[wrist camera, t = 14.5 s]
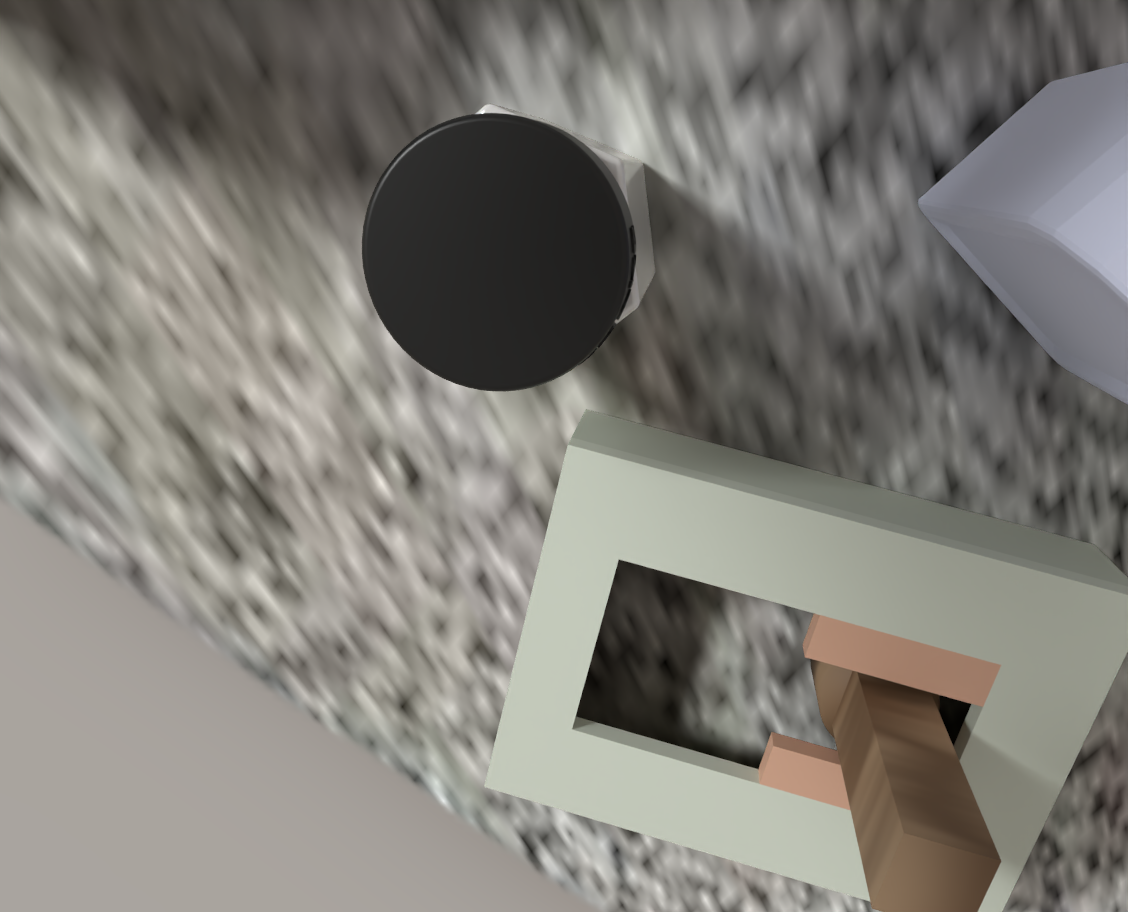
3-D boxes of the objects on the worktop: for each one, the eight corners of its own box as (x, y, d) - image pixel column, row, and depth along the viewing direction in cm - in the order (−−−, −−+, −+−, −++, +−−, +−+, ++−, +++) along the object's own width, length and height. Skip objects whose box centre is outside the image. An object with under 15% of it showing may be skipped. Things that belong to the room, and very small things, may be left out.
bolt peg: (796, 692, 44) (835, 921, 30) (829, 601, 42) (884, 800, 29) (900, 721, 43) (984, 966, 30) (936, 630, 42) (1042, 846, 28)
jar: (533, 373, 41) (465, 453, 30) (414, 220, 40) (295, 241, 29) (703, 245, 38) (699, 278, 27) (581, 77, 37) (524, 38, 26)
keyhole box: (509, 716, 46) (484, 786, 41) (586, 409, 41) (567, 444, 36) (957, 847, 45) (989, 937, 39) (1094, 544, 40) (1151, 601, 34)
